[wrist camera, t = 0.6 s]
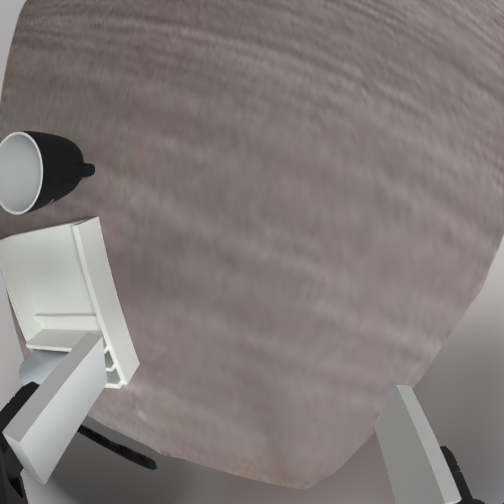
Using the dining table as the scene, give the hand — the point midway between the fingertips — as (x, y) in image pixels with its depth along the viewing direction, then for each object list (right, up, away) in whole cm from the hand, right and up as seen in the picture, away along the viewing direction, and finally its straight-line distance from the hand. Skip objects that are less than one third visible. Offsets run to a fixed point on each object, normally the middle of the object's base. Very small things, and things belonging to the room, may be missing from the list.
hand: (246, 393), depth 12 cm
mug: (-22, +17, +23) cm, 36 cm away
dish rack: (-26, -1, +28) cm, 38 cm away
